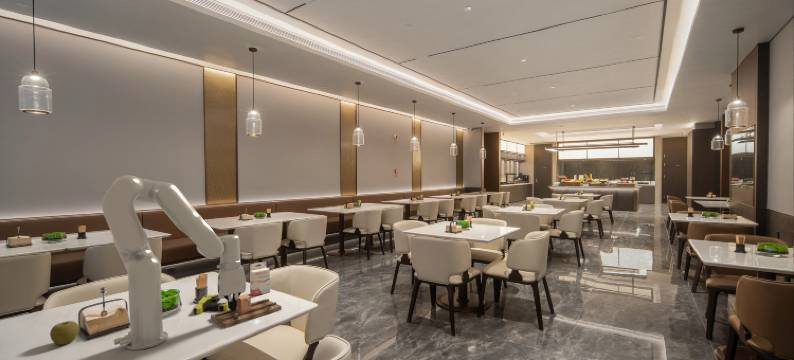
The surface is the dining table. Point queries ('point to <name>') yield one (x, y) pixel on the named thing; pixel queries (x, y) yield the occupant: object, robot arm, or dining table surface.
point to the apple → (64, 332)
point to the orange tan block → (243, 303)
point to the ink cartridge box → (259, 279)
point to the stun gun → (210, 304)
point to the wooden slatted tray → (245, 313)
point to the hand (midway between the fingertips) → (232, 309)
